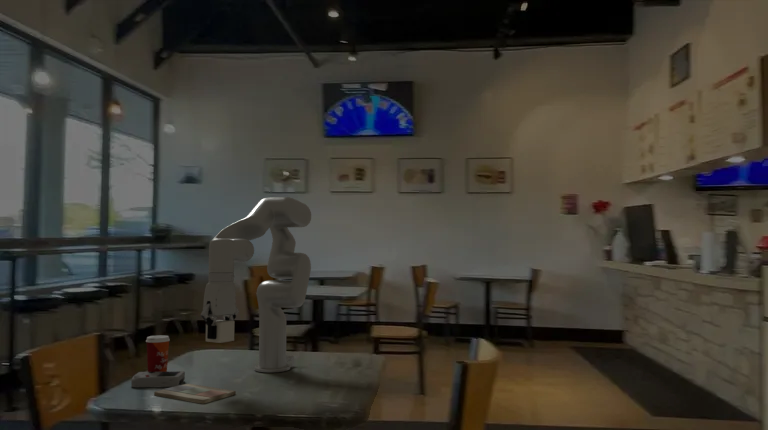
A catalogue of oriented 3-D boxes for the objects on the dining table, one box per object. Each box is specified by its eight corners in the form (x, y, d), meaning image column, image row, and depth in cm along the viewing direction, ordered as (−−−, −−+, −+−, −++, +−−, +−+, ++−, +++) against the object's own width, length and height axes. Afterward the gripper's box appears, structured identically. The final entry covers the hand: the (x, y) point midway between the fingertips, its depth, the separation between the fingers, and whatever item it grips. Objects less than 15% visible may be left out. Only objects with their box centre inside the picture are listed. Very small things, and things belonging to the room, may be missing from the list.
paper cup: (161, 382, 206) (162, 338, 207) (140, 381, 208) (140, 338, 208) (174, 377, 214) (174, 335, 214) (153, 376, 215) (153, 334, 216)
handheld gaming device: (138, 383, 207) (138, 371, 207) (184, 382, 208) (185, 370, 208) (129, 389, 198) (129, 377, 198) (178, 388, 199) (178, 376, 199)
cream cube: (219, 339, 200) (220, 319, 200) (234, 340, 197) (234, 320, 197) (205, 341, 194) (206, 321, 195) (220, 342, 192) (220, 322, 192)
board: (188, 386, 200) (188, 383, 200) (235, 394, 190) (235, 390, 190) (154, 395, 189) (154, 391, 189) (202, 403, 179) (203, 399, 179)
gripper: (231, 277, 206) (230, 334, 205) (191, 279, 191) (189, 339, 190) (249, 278, 203) (248, 335, 201) (209, 279, 188) (208, 341, 186)
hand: (219, 337), depth 196 cm, fingers closed on cream cube, 6 cm apart
